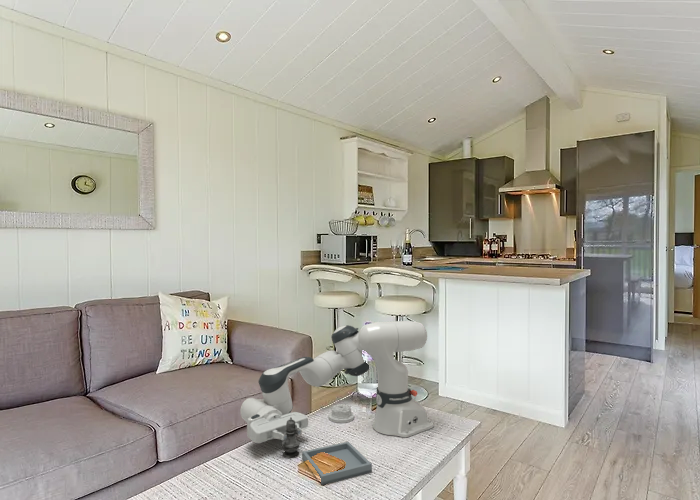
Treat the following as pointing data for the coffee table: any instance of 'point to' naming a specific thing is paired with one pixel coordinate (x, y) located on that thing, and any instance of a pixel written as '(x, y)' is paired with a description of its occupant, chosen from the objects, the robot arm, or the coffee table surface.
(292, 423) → the dark stone stupa
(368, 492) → the coffee table surface
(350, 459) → the tray
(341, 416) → the mechanical component
